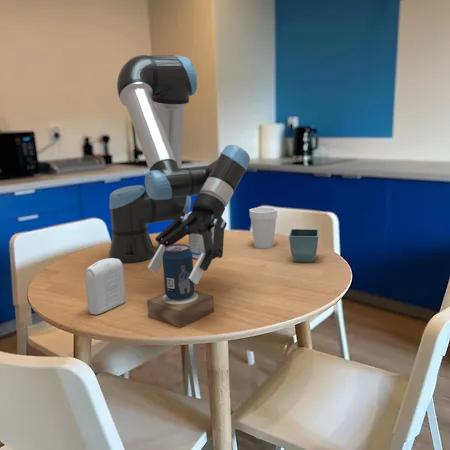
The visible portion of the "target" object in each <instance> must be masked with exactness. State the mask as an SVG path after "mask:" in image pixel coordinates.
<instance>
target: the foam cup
mask: <svg viewBox="0 0 450 450" xmlns="http://www.w3.org/2000/svg"><path fill="white" fill-rule="evenodd" d="M277 211H278V210H277V208H275V207H266V206H264V207H263V206H261V207H254V208H250V209H249V218H250V223H251V229H252V236H253V242H254V247H255V248H256V249H261V250H262V249H263V250H266V249H271V248H274V243H275V241H274V240H275V231H276V223H277V222H276V221H277V218H278V212H277Z"/></svg>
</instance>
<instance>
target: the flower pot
mask: <svg viewBox="0 0 450 450" xmlns="http://www.w3.org/2000/svg"><path fill="white" fill-rule="evenodd" d="M319 232H320V230H319V229H317V228H316V229H315V228H314V229H311V228H310V229H308V228H307V229H305V228H291V229H290V232H289V236H288V240H289V246H290V247H289V248H290V253H291V255H292V257H293V259H294V261H295V262H296V263H297V262H298V263H300V262H301V263H312V262H313V261H314V259H315V258H316V256H317V251H318V246H319V245H318V244H319Z"/></svg>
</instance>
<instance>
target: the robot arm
mask: <svg viewBox="0 0 450 450" xmlns="http://www.w3.org/2000/svg"><path fill="white" fill-rule="evenodd" d="M197 87H198V77H197V72H196V69H195V66H194V63H193V62H192V61H191V59H189V58H188V57H187V56H181V55H163V54H162V55H154V54H153V55H147V54H145V55H144V54H141V55H136V56H134V57H132V58H130V59H128V60H127V61H126V62H125V63H124V64H123V66H122V67H121V69H120V71H119V74H118V76H117V82H116V89H117V95H118V97H119V101H120V102H121V104H122V105H123V106H124V107H126V109H127V112H128V115H129V117H130V120H131V123H132V126H133V129H134V130H135V134H136V137H137V139H138V143H139V145H140V148H141V150H142V151H141V152H142V155H143V156H144V159H145V162H146V165H147V167H148V170H149V171H148V172H147V173H146V174H145V177H144V185H140V184H139V185H138V184H137V185H130V186H129V185H128V186H124V187H120V188H117V189H115V190H113V191H112V192H111V193H110V194H109V206H108V207H109V211H110V220H111V228H112V229H111V231H112V239H111V243H110V247H109V251H108V254H109V257H108V258H115V259H119V260H120V261H121V263H122V264H130V263H137V262H144V261H146V260H150V259H151V260H150V262H149V263H148V266H147V268H148V269H149V270H150V271H152V272H153V273H154V274H157V273H158V271H159V269H160V268H161V266H162V265H163V257H162V256H163V253H164V251H165V247H167V246H169V245H175V244H176V243H177V242H179V241H180V240H182V239H183V238H184V237H186V236H189V235H190V234H192V233H193V234H199V235H202V237H203V242H204V248H205V251H204V252H205V253H206V255H205V254H204V253H201V255H200V257H199V259H197V261H196V262H195V265H193V270H192V272H191V274H190V276H189V279H190V280H191V281H192V282H193V283H194V285H198V284H199V282H200V280H201V278H202V276H203V274H204V273H205V271H207V270H208V269H209V267H210V265H211V263H212V261H213V260H214V259H215V258H218V259H221V258H223V257H224V256H223V253H224V242H225V241H224V240H225V239H224V237H225V229H226V227H227V224H228V223H227V222H226V220H224V219H223V217H222V216H223V214H224V212H225V210H226V207H227V206H228V204H229V202H230V200H232V199H231V198H232V197H233V195H234V193H235V191H236V190H237V187H238V185H239V184H240V182H241V180H242V178H243V176H244V174H245V173H246V172H247V169H248V167H249V164H250V162H251V157H250V154H249V153H248V152H247V151H246V150H245V149H244V148H242V147H240V146H239V145H235V144H228V145H226V146H225V147H224V148H223V150H222V151H221V152H220V153H219V156H218V157H217V159H216V160H214V161H213V162H211V163H210V164H208V165H202V166H192V167H182V164H183V163H182V160H183V136H184V135H183V134H184V114H185V113H184V111H185V107H186V106H187V105H189V103H190V97H192V96H193V95H195V94H196V93H197V92H196V91H197V89H198V88H197ZM194 196H196V198H195V200H194V201H193V203H192V197H194ZM191 207H192V210H191ZM190 210H191V211H190ZM189 212H191V213H190V214H189V215H188V213H189ZM170 221H172V222H171V223H170V224H168V225H167V227H166V228H164V230H163V231H161V232H160V233H159V234H158V235H157V236H156V237H155V239H154V240H155V241H156V243H158V246H157V248H155V246H154V243H153V241H152V239H151V236H150V233H149V227H148V225H149V224H153V223H154V224H155V223H162V222H170ZM214 226H215V227H214ZM213 227H214V239H213V241H212V232H211V228H213Z"/></svg>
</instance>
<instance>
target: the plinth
mask: <svg viewBox="0 0 450 450" xmlns="http://www.w3.org/2000/svg"><path fill="white" fill-rule="evenodd" d="M146 304H147V313H148V314H147V315H148V317H150V318H153V319H156V320H157V321H162V322H164V323H167V324H170V325H172V326H175V327H177V328H184V327H185V326H188V325H190V324H192V323H194V322H195V321H197V320H200V319H203V317H206V316H208V315H209V314H212V313H213V312H215V307H214V306H215V305H214V304H215V303H214V295H213V294H208V293H205V292H202V291H197V290H195V289H194V293H193V295H192V297H191V298H189V299H187V300H183V301H173V300H170V299H169V298H168V297H167V295H166V294H165V292H163V293H161V294H159V295H157V296H154V297H150V298H149V299H147V300H146Z"/></svg>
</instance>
